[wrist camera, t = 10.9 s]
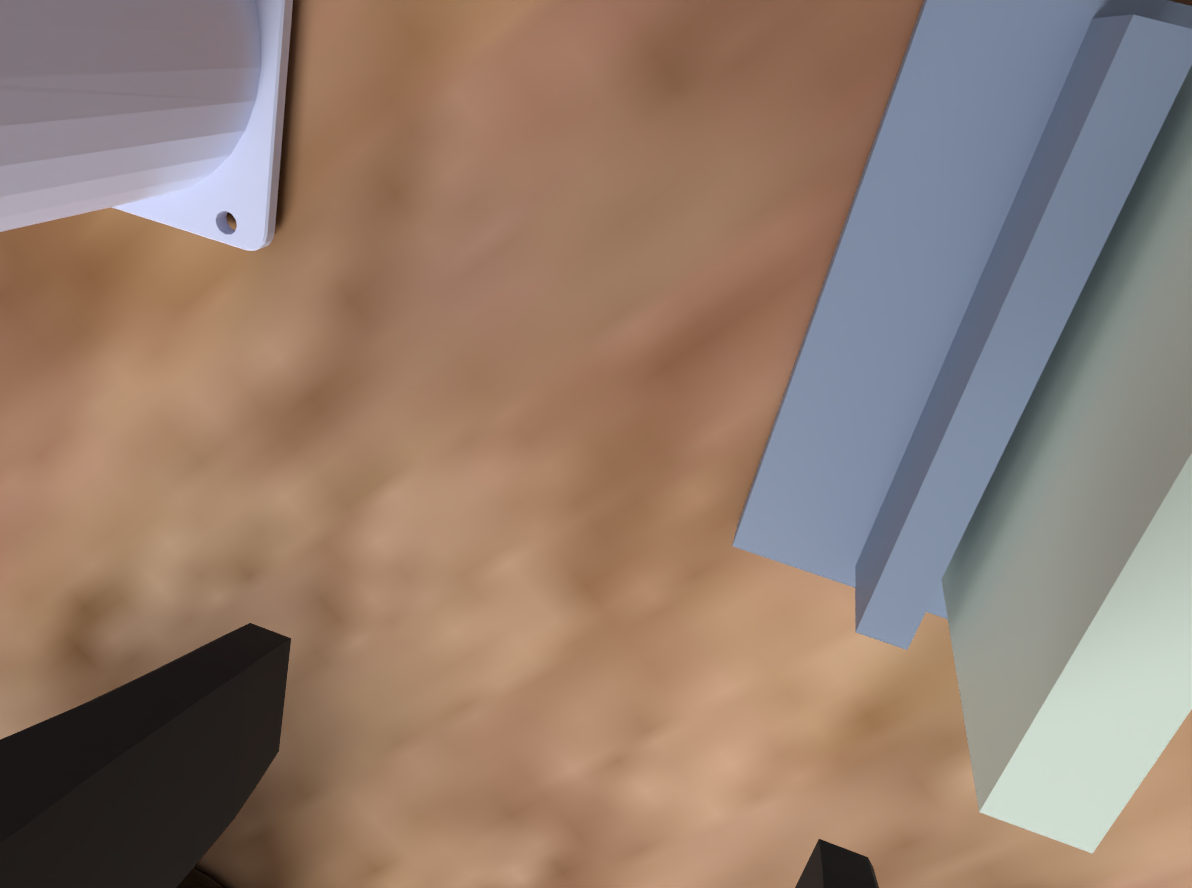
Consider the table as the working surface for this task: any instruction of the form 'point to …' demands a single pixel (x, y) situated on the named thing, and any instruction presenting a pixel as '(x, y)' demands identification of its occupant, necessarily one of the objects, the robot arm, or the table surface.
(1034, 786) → the pale green slab
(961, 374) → the sheet stand
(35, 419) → the table surface
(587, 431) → the table surface
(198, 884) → the ink bottle
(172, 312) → the table surface
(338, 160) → the table surface
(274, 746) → the robot arm
